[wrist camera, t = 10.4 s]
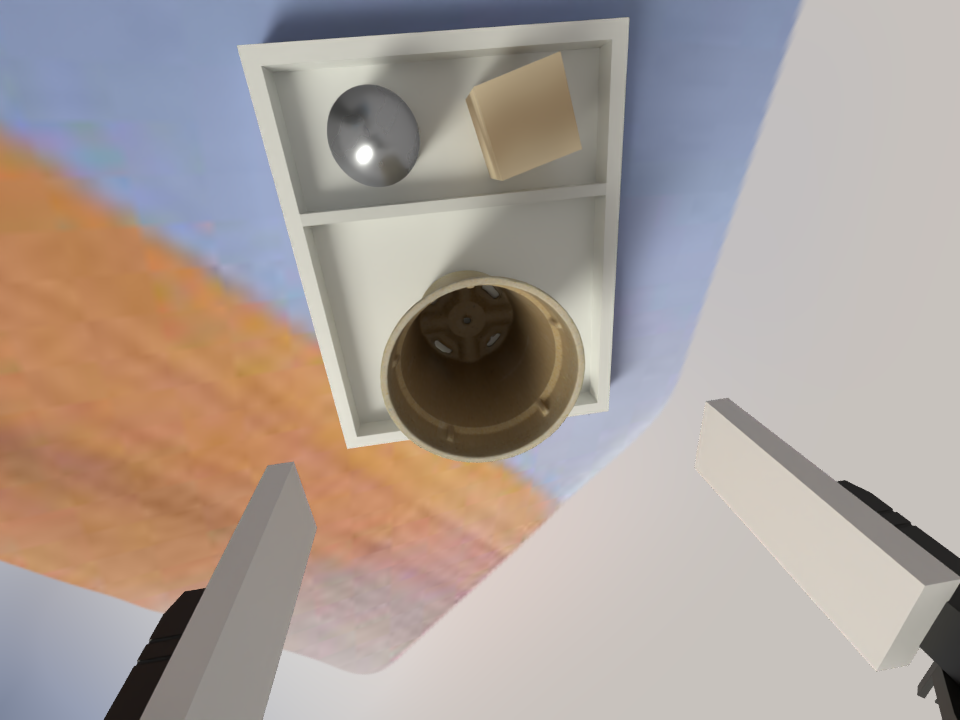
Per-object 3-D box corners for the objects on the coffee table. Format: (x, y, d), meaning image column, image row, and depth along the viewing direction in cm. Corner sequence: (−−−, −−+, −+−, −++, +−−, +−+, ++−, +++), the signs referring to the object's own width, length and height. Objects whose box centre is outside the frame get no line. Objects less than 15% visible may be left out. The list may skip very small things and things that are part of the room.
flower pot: (560, 266, 26) (619, 308, 18) (512, 394, 30) (545, 476, 22) (412, 222, 24) (407, 250, 16) (379, 366, 28) (361, 446, 20)
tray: (254, 57, 21) (236, 45, 19) (610, 30, 22) (629, 17, 20) (352, 429, 30) (347, 448, 28) (596, 395, 31) (608, 411, 29)
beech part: (465, 99, 22) (473, 86, 18) (537, 70, 22) (560, 51, 18) (490, 178, 24) (502, 180, 20) (557, 151, 23) (582, 149, 20)
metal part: (325, 126, 21) (306, 124, 18) (386, 74, 21) (378, 61, 17) (378, 195, 23) (369, 205, 20) (436, 149, 23) (437, 151, 19)
